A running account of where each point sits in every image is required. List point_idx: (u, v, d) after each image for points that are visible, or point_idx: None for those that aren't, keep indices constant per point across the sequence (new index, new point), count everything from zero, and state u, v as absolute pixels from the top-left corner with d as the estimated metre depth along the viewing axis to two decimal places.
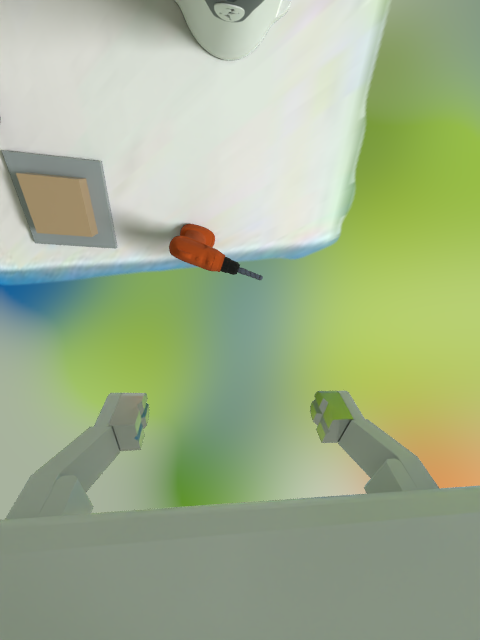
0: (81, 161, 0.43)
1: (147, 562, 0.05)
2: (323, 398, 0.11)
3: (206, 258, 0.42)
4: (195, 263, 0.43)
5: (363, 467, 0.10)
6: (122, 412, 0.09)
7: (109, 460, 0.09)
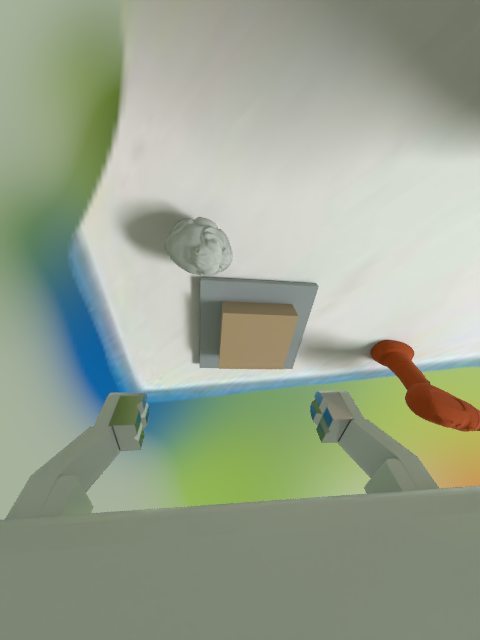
0: (295, 287, 0.32)
1: (147, 562, 0.05)
2: (323, 398, 0.11)
3: (468, 423, 0.31)
4: None
5: (363, 467, 0.10)
6: (122, 412, 0.09)
7: (109, 459, 0.09)
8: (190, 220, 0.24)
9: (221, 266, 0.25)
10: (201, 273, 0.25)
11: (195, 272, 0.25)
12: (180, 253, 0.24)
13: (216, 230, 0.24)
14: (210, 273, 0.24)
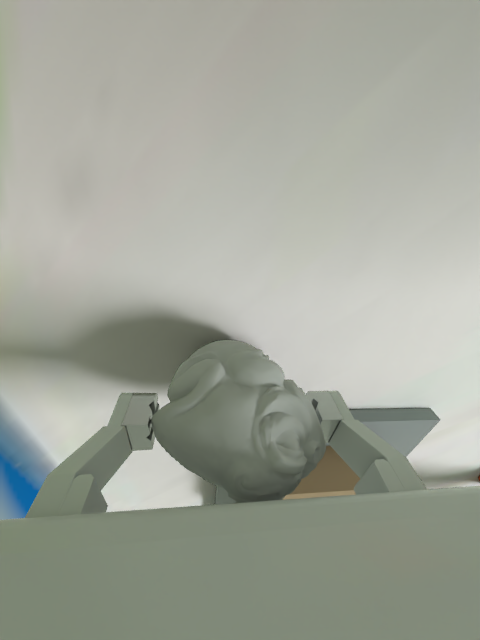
0: (400, 423, 0.17)
1: (147, 562, 0.05)
2: (313, 398, 0.11)
3: None
4: None
5: (353, 468, 0.10)
6: (134, 412, 0.09)
7: (122, 459, 0.09)
8: (218, 370, 0.09)
9: None
10: None
11: None
12: (192, 463, 0.09)
13: (290, 401, 0.09)
14: None
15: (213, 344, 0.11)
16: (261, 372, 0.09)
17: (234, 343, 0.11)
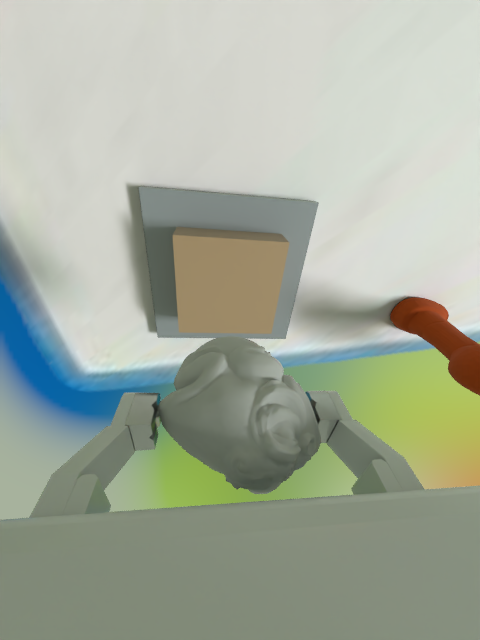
0: (285, 204, 0.22)
1: (147, 562, 0.05)
2: (311, 398, 0.11)
3: None
4: None
5: (351, 468, 0.10)
6: (137, 412, 0.09)
7: (125, 459, 0.09)
8: (221, 362, 0.10)
9: None
10: None
11: None
12: (193, 447, 0.09)
13: (287, 394, 0.09)
14: (266, 493, 0.10)
15: (218, 339, 0.12)
16: (261, 366, 0.09)
17: (238, 339, 0.12)
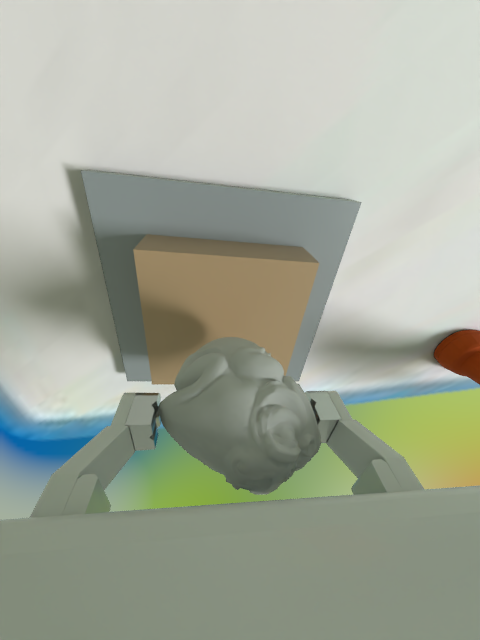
0: (311, 203, 0.14)
1: (147, 562, 0.05)
2: (311, 398, 0.11)
3: None
4: None
5: (351, 468, 0.10)
6: (137, 412, 0.09)
7: (125, 459, 0.09)
8: (221, 363, 0.10)
9: None
10: None
11: None
12: (194, 447, 0.09)
13: (287, 395, 0.09)
14: (266, 493, 0.10)
15: (219, 340, 0.12)
16: (261, 367, 0.09)
17: (238, 340, 0.12)
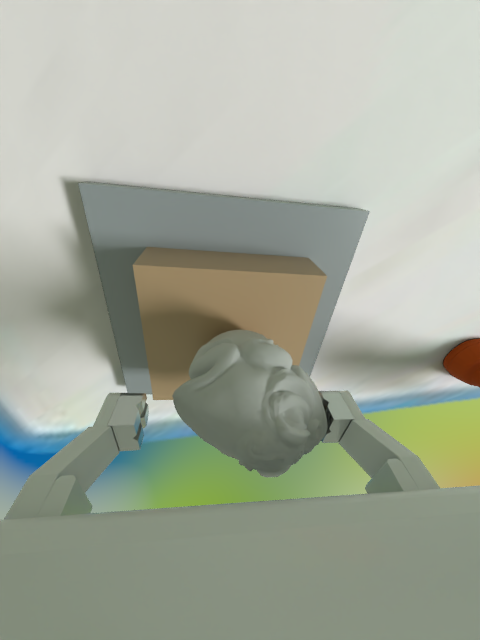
0: (317, 213, 0.14)
1: (147, 562, 0.05)
2: (324, 398, 0.11)
3: None
4: None
5: (364, 467, 0.10)
6: (121, 412, 0.09)
7: (109, 460, 0.09)
8: (234, 352, 0.10)
9: None
10: None
11: None
12: (208, 432, 0.10)
13: (297, 382, 0.10)
14: (276, 476, 0.10)
15: (229, 332, 0.12)
16: (272, 355, 0.10)
17: (248, 332, 0.12)
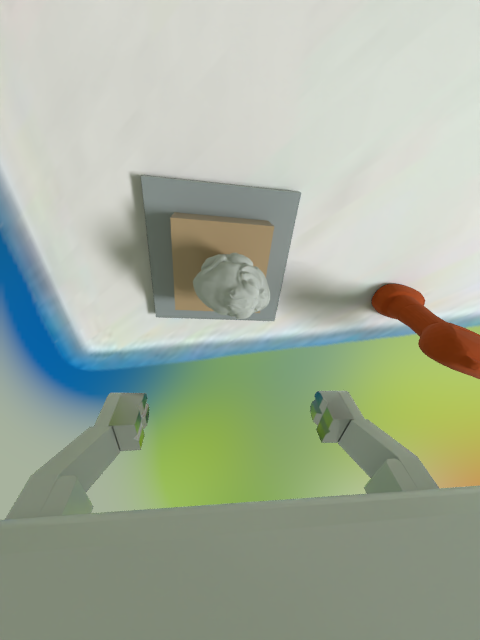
0: (271, 193, 0.25)
1: (147, 562, 0.05)
2: (323, 398, 0.11)
3: None
4: None
5: (363, 467, 0.10)
6: (122, 412, 0.09)
7: (109, 460, 0.09)
8: (224, 256, 0.21)
9: (256, 309, 0.21)
10: (233, 315, 0.21)
11: (226, 314, 0.22)
12: (211, 294, 0.21)
13: (253, 269, 0.21)
14: (244, 317, 0.21)
15: None
16: (242, 258, 0.21)
17: None
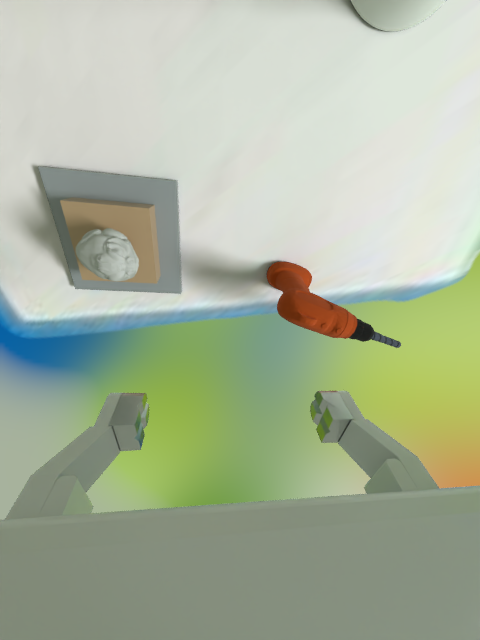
0: (151, 181, 0.30)
1: (147, 562, 0.05)
2: (323, 398, 0.11)
3: (335, 323, 0.29)
4: (317, 330, 0.29)
5: (363, 467, 0.10)
6: (122, 412, 0.09)
7: (109, 459, 0.09)
8: (98, 230, 0.26)
9: (127, 273, 0.27)
10: (108, 278, 0.27)
11: (104, 277, 0.27)
12: (87, 260, 0.26)
13: (120, 240, 0.26)
14: (115, 279, 0.27)
15: None
16: (112, 232, 0.26)
17: None
